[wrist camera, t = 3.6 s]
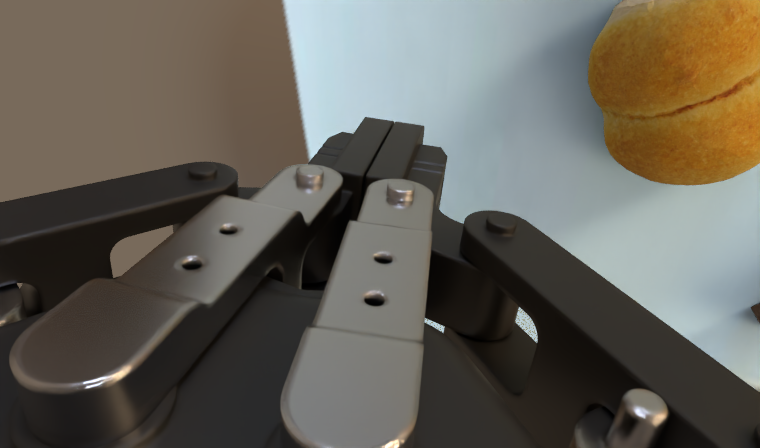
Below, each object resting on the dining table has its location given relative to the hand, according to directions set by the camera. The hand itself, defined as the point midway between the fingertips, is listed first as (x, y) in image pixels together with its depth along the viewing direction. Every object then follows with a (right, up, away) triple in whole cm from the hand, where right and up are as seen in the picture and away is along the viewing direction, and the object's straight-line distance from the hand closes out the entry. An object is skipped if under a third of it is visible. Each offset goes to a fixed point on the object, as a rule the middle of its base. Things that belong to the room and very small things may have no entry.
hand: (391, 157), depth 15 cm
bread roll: (+13, +5, +11) cm, 18 cm away
